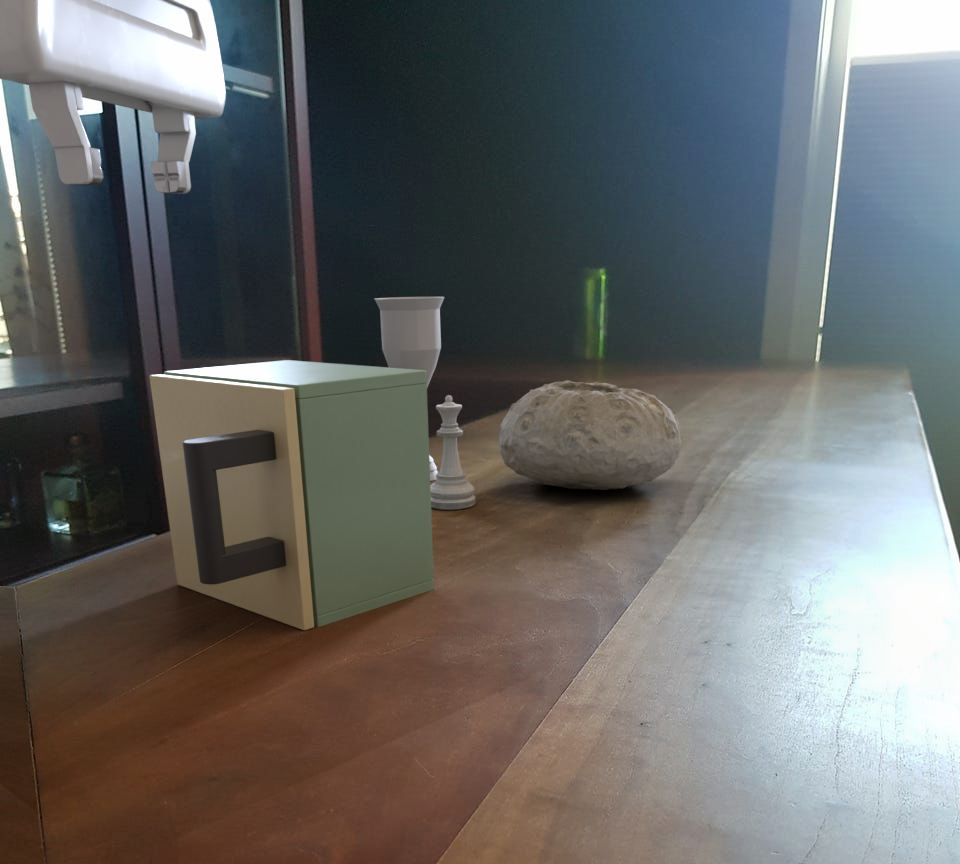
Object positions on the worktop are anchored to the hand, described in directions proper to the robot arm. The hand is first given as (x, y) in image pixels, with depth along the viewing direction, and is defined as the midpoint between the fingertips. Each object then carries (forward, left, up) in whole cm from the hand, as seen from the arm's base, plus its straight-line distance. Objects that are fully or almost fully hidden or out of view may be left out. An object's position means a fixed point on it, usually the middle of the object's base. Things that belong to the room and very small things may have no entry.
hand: (131, 189), depth 57 cm
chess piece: (+24, +21, -26) cm, 41 cm away
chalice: (+24, +35, -26) cm, 49 cm away
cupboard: (+8, 0, -25) cm, 27 cm away
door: (+1, -5, -25) cm, 26 cm away
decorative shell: (+39, +24, -26) cm, 53 cm away
